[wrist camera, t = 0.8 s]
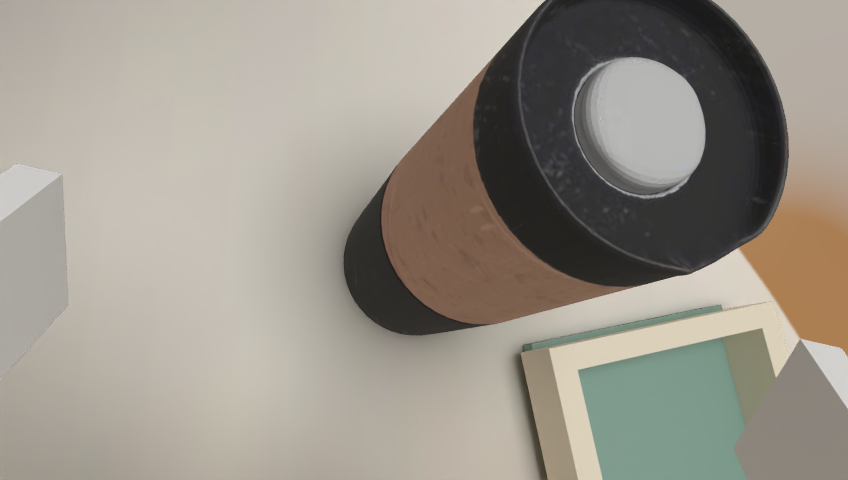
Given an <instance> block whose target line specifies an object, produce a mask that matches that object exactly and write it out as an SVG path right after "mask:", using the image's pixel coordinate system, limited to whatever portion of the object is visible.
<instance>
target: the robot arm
mask: <svg viewBox="0 0 848 480" xmlns="http://www.w3.org/2000/svg"><path fill="white" fill-rule="evenodd" d="M67 306H68V289H67V267H66V244H65V222H64V199H63V176H62V174H61V173H56V172H52V171H47V170H43V169H39V168H34V167H30V166H25V165H21V164H15V165H14V166H12V167H11V168H9V169H8V170H6V171H5V172H3V173H2V174H0V380H1V379H2V377H3V376H4V375H5V374H6V373H7V372H8V371H9V370H10V369H11V368H12V366H13V365H14V364H15V363H16V362H17V361H18V360H19V359H20V358H21V357H22V355H23V354H24V353H25V352H26V351H27V350H28V349H29V348H30V347H31V345H32V344H33V343H34V342H35V341H36V340H37V339H38V338H39V337H40V336H41V334H42V333H43V332H44V331H45V330H46V329H47V328H48V327H49V326H50V325H51V323H52V322H53V321H54V320H55V319H56V318H57V317H58V316H59V315H60V313H61V312H62V311H63V310H64V309H65V308H66V307H67ZM733 448H734V451H735V453H736V455H737V457H738V460H739V462H740V464H741V467H742V469H743V471H744V473H745V476H746V478H747V480H848V357H847V356H846V354H845V353H844V351H843V350H842V349H841V348H838V347H834V346H829V345H824V344H820V343H816V342H811V341H807V340H803V339H800V340H799V342H798V344H797V345H796V347H795V349H794V350H793V352H792V353H791V355H790V357H789V358H788V360H787V361H786V363H785V365H784V366H783V368H782V369H781V371H780V373H779V374H778V376H777V378H776V379H775V381H774V382H773V384H772V386H771V387H770V389H769V390H768V392H767V394H766V395H765V397H764V398H763V400H762V402H761V403H760V405H759V407H758V408H757V410H756V411H755V413H754V415H753V416H752V418H751V419H750V421H749V423H748V424H747V426H746V427H745V429H744V431H743V432H742V434H741V436H740V437H739V439H738V440H737V442H736V444H735V445H734V447H733Z"/></svg>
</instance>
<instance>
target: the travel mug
mask: <svg viewBox="0 0 848 480" xmlns="http://www.w3.org/2000/svg"><path fill="white" fill-rule="evenodd" d="M788 158H789V149H788V132H787V125H786V118H785V114H784V110H783V105H782V101H781V98H780V95H779V93H778V90H777V87H776V84H775V82H774V80H773V78H772V75H771V73H770V71H769V69H768V67H767V65H766V63H765V61H764V60H763V58H762V56H761V55H760V53H759V51H758V50H757V48H756V47H755V45H754V44H753V42H752V41H751V40H750V39H749V37H748V36H747V34H746V33H745V32H744V31H743V30H742V29H741V28H740V26H739V25H738V24H737V23H736V22H735V20H733V19H732V18H731V17H730V16H729V15H728V14H727V13H726V12H725V11H724V10H723V9H722V8H720V7H719V6H718V5H717V4H716V3H714V2H713V1H712V0H546V1H544V2H543V3H542V4H541V5H540V6H539V7H538V8H537V9H536V10H535V11H534V13H533V14H532V15H531V16H530V17H529V18H528V19H527V20H526V22H525V23H524V24H523V25H522V26H521V27H520V28H519V29H518V30H517V32H516V33H515V34H514V35H513V36H512V37H511V38H510V39H509V41H508V42H507V43H506V44H505V45H504V46H503V47H502V48H501V49H500V51H499V52H498V53H497V54H496V55H495V56H494V57H493V58H492V59H491V61H490V62H489V63H488V64H487V65H486V66H485V67H484V68H483V69H482V71H481V72H480V73H479V74H478V75H477V76H476V77H475V78H474V80H473V81H472V82H471V83H470V84H469V85H468V86H467V87H466V88H465V90H464V91H463V92H462V93H461V94H460V95H459V96H458V97H457V98H456V100H455V101H454V102H453V103H452V104H451V105H450V106H449V107H448V108H447V110H446V111H445V112H444V113H443V114H442V115H441V116H440V117H439V119H438V120H437V121H436V122H435V123H434V124H433V125H432V126H431V127H430V129H429V130H428V131H427V132H426V133H425V134H424V135H423V136H422V137H421V139H420V140H419V141H418V142H417V143H416V144H415V145H414V146H413V147H412V149H411V150H410V151H409V152H408V153H407V154H406V155H405V157H404V158H403V159H402V160H401V161H400V162H399V164H398V165H397V166H396V168H395V169H394V170H393V172H392V173H391V174H390V176H389V177H388V178H387V180H386V181H385V182H384V184H383V185H382V187H381V188H380V189H379V191H378V192H377V193H376V195H375V196H374V197H373V199H372V200H371V202H370V203H369V204H368V206H367V207H366V208H365V210H364V211H363V212H362V214H361V215H360V217H359V218H358V220H357V221H356V223H355V225H354V226H353V228H352V230H351V232H350V235H349V237H348V240H347V243H346V247H345V253H344V270H345V276H346V280H347V284H348V287H349V289H350V292H351V294H352V296H353V298H354V300H355V301H356V303H357V304H358V305H359V307H360V308H361V309H362V310H363V312H364V313H365V314H366V315H367V316H368V317H370V318H371V319H372V320H373V321H374V322H376V323H378V324H379V325H381V326H382V327H384V328H386V329H389V330H391V331H394V332H397V333H401V334H407V335H426V334H435V333H442V332H448V331H454V330H460V329H466V328H472V327H479V326H485V325H491V324H496V323H501V322H505V321H509V320H513V319H516V318H520V317H524V316H528V315H531V314H535V313H539V312H543V311H546V310H550V309H554V308H558V307H561V306H565V305H569V304H573V303H576V302H580V301H584V300H588V299H592V298H595V297H599V296H603V295H607V294H610V293H614V292H618V291H622V290H625V289H629V288H633V287H637V286H640V285H644V284H648V283H652V282H656V281H659V280H663V279H667V278H671V277H675V276H681V275H688V274H691V273H693V272H695V271H697V270H700V269H702V268H704V267H706V266H708V265H710V264H712V263H714V262H716V261H717V260H719V259H721V258H722V257H724V256H726V255H727V254H729V253H730V252H732V251H733V250H735V249H737V248H738V247H740V246H742V245H744V244H745V243H747V242H749V241H751V240H752V239H754V238H756V237H757V236H758V235H760V234H761V233H762V232H763V231H764V229H765V228H766V227H767V226H768V224H769V222H770V221H771V219H772V218H773V216H774V213H775V211H776V209H777V207H778V204H779V202H780V199H781V196H782V193H783V189H784V185H785V180H786V176H787V168H788Z"/></svg>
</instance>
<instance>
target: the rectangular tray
mask: <svg viewBox="0 0 848 480" xmlns="http://www.w3.org/2000/svg"><path fill="white" fill-rule="evenodd" d="M523 348H524V352H521V357H522V362H523V367H524V371H525V376H526V380H527V385H528V390H529V394H530V399H531V404H532V408H533V413H534V417H535V422H536V427H537V431H538V436H539V441H540V445H541V450H542V454H543V459H544V464H545V468H546V473H547V478H548V480H747V478H746V476H745V473H744V471H743V469H742V467H741V464H740V462H739V460H738V457H737V455H736V453H735V451H734V448H733V447H734V445H735V444H736V442H737V440H738V439H739V437H740V436H741V434H742V432H743V431H744V429H745V427H746V426H747V424H748V423H749V421H750V419H751V418H752V416H753V415H754V413H755V411H756V410H757V408H758V407H759V405H760V403H761V402H762V400H763V398H764V397H765V395H766V394H767V392H768V390H769V389H770V387H771V386H772V384H773V382H774V381H775V379H776V378H777V376H778V374H779V373H780V371H781V369H782V368H783V366H784V365H785V363H786V361H787V360H788V358H789V354H788V350H787V347H786V343H785V340H784V336H783V332H782V329H781V325H780V322H779V318H778V314H777V311H776V307H775V304H774V301H771V302H765V303H759V304H753V305H747V306H741V307H734V308H729V309H724V310H722V306H721V305H716V306H710V307H705V308H700V309H696V310H691V311H686V312H681V313H676V314H671V315H667V316H662V317H657V318H652V319H647V320H642V321H638V322H633V323H628V324H623V325H618V326H614V327H609V328H604V329H599V330H594V331H589V332H585V333H580V334H575V335H570V336H565V337H561V338H556V339H551V340H546V341H541V342H536V343H532V344H527V345H523Z"/></svg>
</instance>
